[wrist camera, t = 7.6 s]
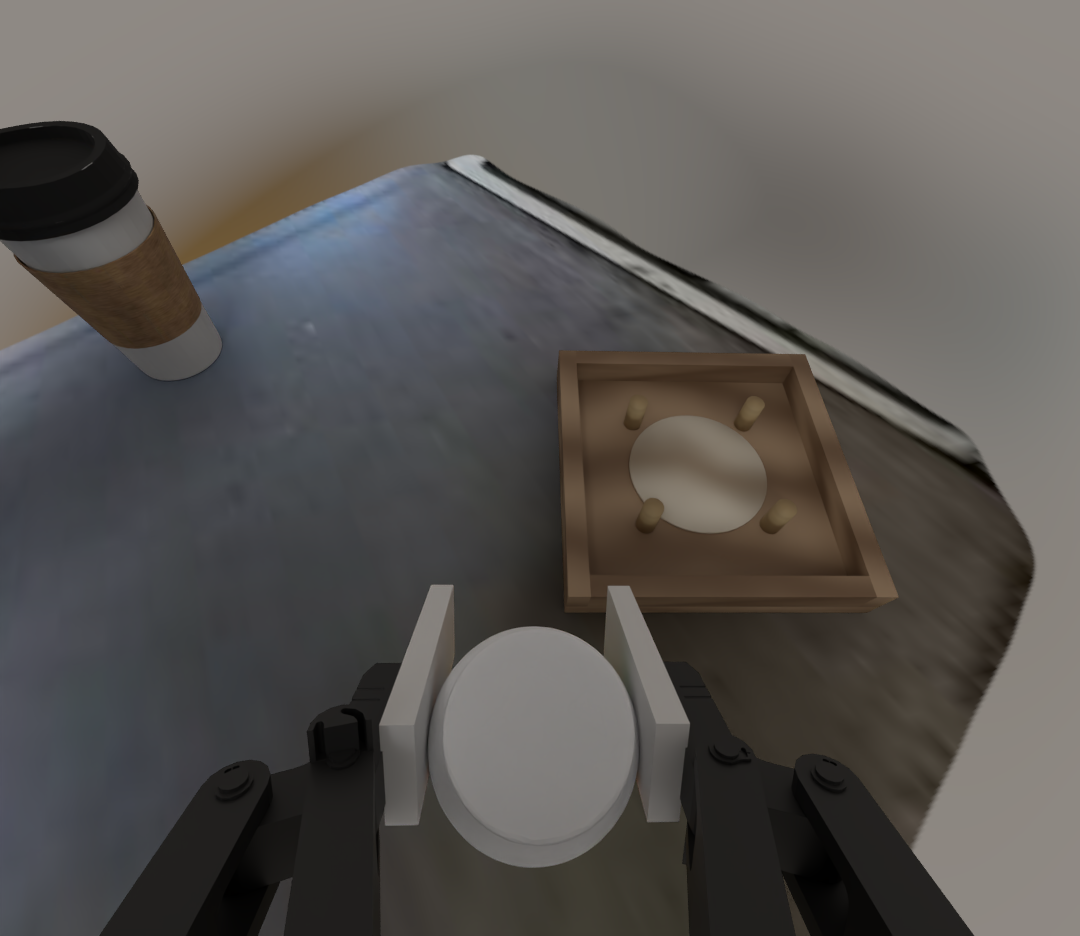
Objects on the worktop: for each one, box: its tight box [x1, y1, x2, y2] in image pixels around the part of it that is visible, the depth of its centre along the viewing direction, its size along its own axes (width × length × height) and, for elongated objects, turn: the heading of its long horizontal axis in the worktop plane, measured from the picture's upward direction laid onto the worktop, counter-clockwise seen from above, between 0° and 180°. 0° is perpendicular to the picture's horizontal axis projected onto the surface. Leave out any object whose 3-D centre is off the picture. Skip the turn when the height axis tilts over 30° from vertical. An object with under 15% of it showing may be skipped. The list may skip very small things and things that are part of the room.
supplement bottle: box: [428, 626, 639, 868], centre depth 14 cm, size 5×5×10 cm
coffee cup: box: [0, 121, 222, 381], centre depth 33 cm, size 8×8×15 cm
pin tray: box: [557, 351, 898, 613], centre depth 33 cm, size 18×18×4 cm
